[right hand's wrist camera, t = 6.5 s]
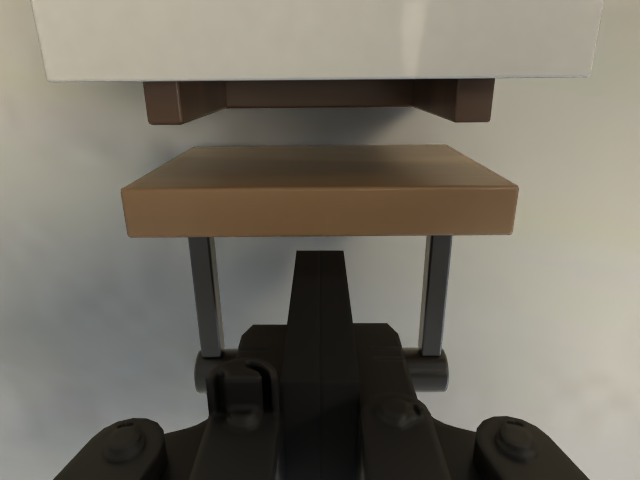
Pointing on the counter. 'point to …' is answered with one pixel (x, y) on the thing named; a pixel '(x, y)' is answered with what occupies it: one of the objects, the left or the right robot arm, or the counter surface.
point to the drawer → (321, 191)
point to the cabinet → (315, 39)
